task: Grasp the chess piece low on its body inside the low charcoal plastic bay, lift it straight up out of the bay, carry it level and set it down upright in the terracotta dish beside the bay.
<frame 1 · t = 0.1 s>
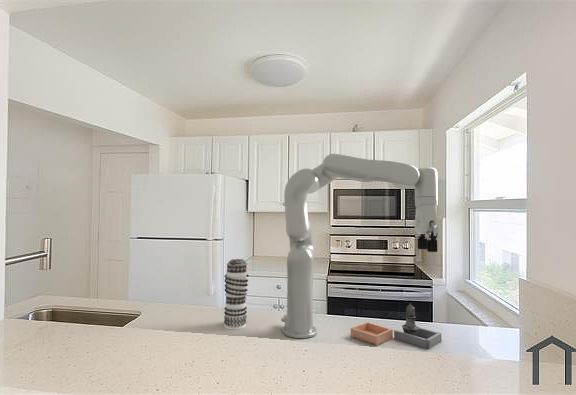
hand: (427, 250, 110), 31 cm above the table, tool pointing down, fingers open, 9 cm apart
striped cylinder tower: (235, 326, 119), on the table
cubby: (414, 338, 109), on the table
chess piece: (410, 337, 110), on the table
dish: (371, 337, 109), on the table
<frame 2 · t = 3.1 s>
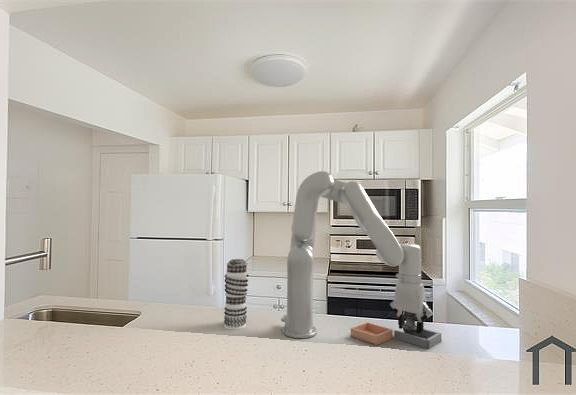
hand: (410, 329, 110), 3 cm above the table, tool pointing down, fingers closed on chess piece, 5 cm apart
chess piece: (410, 337, 110), on the table, touching gripper
everything else where it was.
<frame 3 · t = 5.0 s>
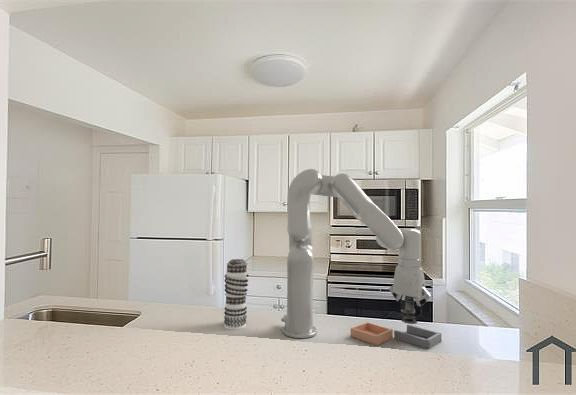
hand: (409, 313, 111), 8 cm above the table, tool pointing down, fingers closed on chess piece, 5 cm apart
chess piece: (409, 322, 111), point 5 cm above the table, touching gripper
everything else where it was.
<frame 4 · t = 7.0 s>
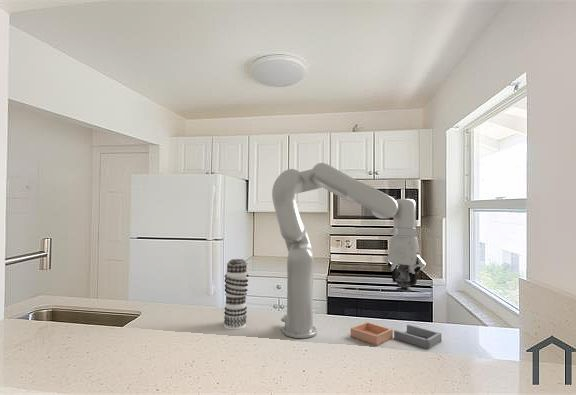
hand: (404, 282, 112), 19 cm above the table, tool pointing down, fingers closed on chess piece, 5 cm apart
chess piece: (404, 290, 111), point 16 cm above the table, touching gripper
everything else where it was.
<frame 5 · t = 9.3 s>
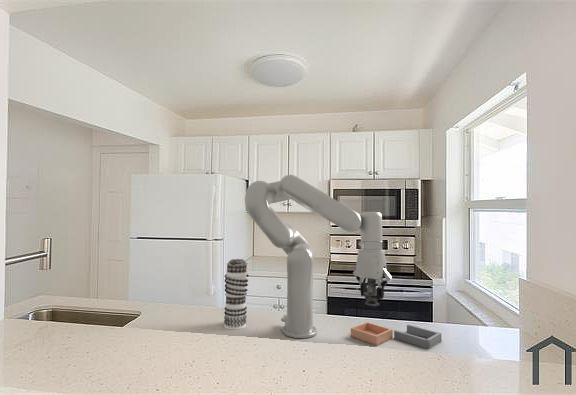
hand: (371, 296, 110), 14 cm above the table, tool pointing down, fingers closed on chess piece, 5 cm apart
chess piece: (371, 304, 110), point 11 cm above the table, touching gripper
everything else where it was.
when the fingers open (5 cm above the table, at t = 11.4 s): chess piece drops 1 cm, resting on dish.
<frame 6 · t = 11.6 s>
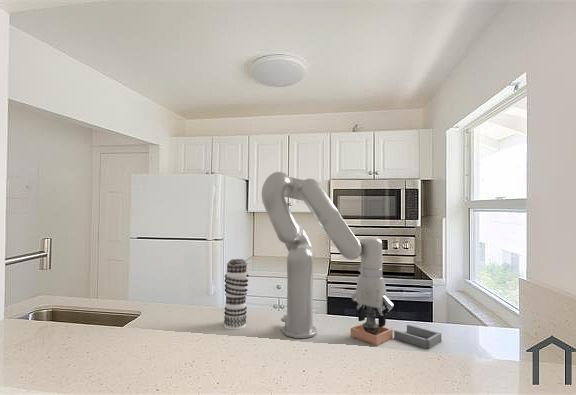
hand: (371, 323, 110), 5 cm above the table, tool pointing down, fingers open, 7 cm apart
chess piece: (371, 336, 109), resting on dish
everything else where it was.
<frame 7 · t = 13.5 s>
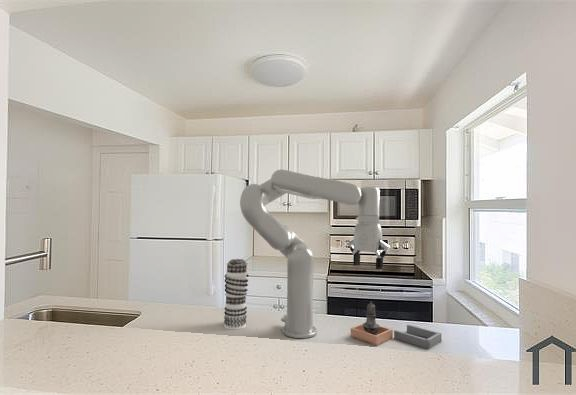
hand: (367, 267, 114), 24 cm above the table, tool pointing down, fingers open, 9 cm apart
nothing on the table moved.
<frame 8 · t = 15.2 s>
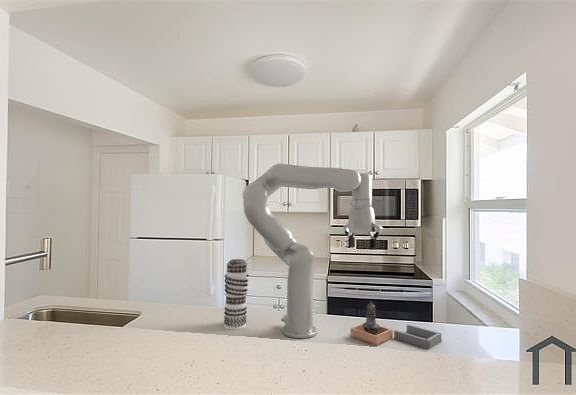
hand: (361, 248, 122), 30 cm above the table, tool pointing down, fingers open, 9 cm apart
nothing on the table moved.
at the end: chess piece 0.1 cm off-centre on the dish, point 0.4 cm above the dish's base; chess piece tilted 0°; the gripper is holding nothing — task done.
